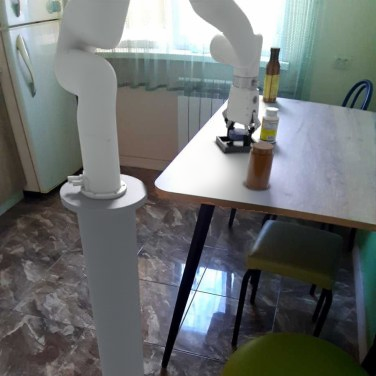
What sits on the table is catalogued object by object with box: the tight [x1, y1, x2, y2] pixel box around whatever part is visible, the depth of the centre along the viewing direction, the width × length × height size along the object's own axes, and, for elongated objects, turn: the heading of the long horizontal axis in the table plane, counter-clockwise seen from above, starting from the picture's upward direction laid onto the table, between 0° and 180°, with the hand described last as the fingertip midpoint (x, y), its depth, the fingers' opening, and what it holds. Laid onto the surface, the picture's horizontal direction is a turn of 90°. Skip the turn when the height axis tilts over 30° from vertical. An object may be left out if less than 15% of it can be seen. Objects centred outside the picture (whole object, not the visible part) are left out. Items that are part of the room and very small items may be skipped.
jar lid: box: [229, 127, 246, 141], centre depth 135 cm, size 7×7×2 cm
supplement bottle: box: [259, 106, 280, 144], centre depth 139 cm, size 6×6×10 cm
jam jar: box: [245, 141, 275, 191], centre depth 111 cm, size 6×6×11 cm
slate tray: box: [215, 135, 258, 154], centre depth 137 cm, size 12×11×2 cm
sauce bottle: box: [262, 46, 281, 103], centre depth 176 cm, size 6×6×20 cm
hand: (238, 143), depth 137 cm, fingers closed on jar lid, 6 cm apart
